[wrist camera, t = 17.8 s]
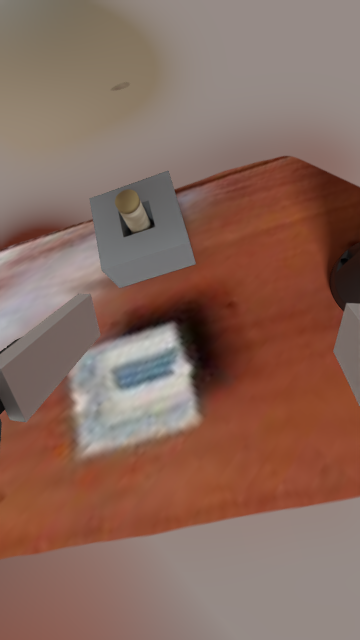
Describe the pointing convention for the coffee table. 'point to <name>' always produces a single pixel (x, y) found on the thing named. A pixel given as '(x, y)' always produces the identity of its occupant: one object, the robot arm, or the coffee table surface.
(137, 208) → the peg
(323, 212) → the coffee table surface
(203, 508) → the coffee table surface
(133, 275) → the socket block
